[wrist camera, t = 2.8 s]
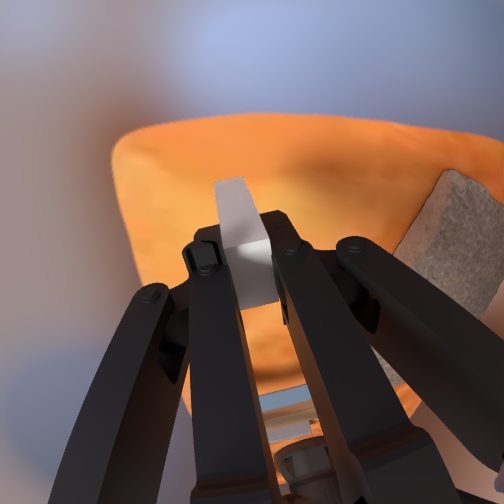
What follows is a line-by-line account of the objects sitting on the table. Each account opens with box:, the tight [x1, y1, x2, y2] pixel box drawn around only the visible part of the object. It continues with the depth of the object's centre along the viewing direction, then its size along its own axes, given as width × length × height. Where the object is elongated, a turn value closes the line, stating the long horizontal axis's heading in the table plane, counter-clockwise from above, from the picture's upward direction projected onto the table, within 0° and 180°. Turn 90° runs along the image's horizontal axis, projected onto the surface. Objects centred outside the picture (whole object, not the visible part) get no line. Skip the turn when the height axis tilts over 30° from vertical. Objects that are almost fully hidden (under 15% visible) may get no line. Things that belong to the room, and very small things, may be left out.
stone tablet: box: [370, 169, 504, 386], centre depth 33 cm, size 20×8×30 cm
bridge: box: [262, 399, 318, 431], centre depth 34 cm, size 3×14×9 cm, turn 100°
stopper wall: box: [266, 421, 312, 444], centre depth 48 cm, size 1×10×2 cm, turn 100°
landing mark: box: [259, 384, 312, 412], centre depth 45 cm, size 12×12×1 cm
